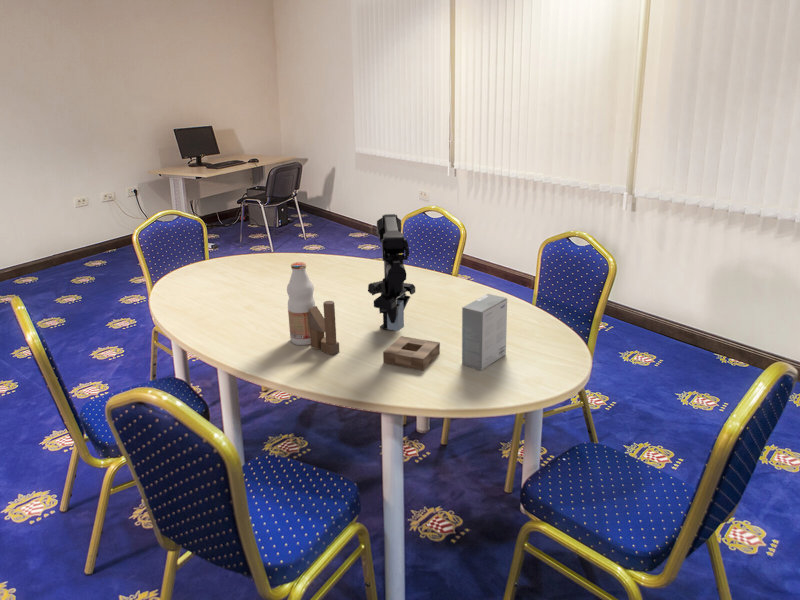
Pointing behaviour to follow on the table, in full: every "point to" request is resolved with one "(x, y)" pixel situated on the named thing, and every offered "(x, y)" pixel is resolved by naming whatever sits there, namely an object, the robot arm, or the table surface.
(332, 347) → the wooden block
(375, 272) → the table surface
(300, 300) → the fruit juice
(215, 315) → the table surface
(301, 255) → the table surface
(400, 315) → the tenon peg
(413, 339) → the mortise block
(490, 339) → the hard drive box
